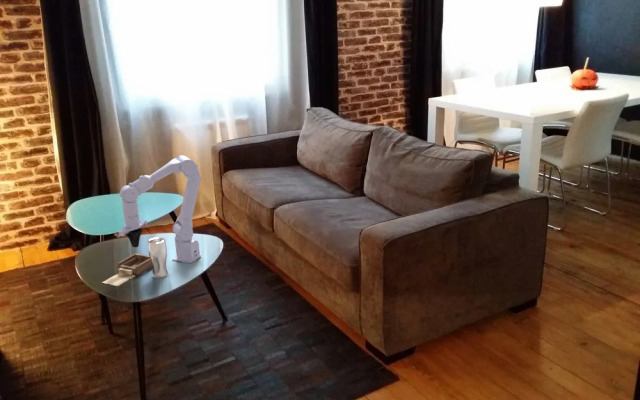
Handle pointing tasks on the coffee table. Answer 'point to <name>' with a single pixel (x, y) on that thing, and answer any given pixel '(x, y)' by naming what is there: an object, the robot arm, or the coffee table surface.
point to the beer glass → (158, 256)
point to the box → (136, 264)
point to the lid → (120, 277)
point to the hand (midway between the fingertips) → (135, 246)
